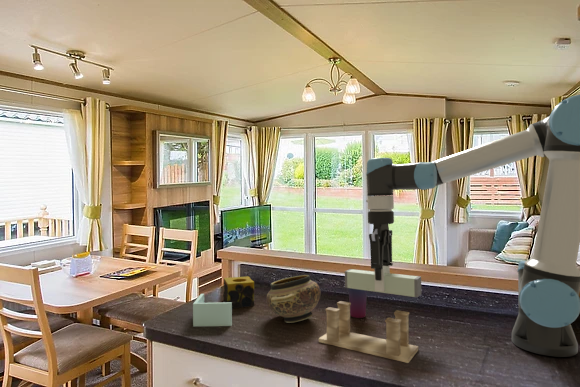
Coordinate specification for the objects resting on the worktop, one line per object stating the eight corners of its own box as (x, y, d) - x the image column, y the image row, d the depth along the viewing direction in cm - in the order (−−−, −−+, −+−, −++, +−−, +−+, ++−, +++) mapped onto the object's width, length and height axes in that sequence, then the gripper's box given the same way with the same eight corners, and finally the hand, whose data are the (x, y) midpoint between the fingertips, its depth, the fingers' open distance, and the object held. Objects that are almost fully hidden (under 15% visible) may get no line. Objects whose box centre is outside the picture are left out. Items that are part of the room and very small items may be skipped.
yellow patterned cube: (223, 304, 145) (222, 277, 145) (249, 301, 148) (249, 275, 148) (226, 312, 135) (226, 283, 135) (254, 309, 138) (254, 281, 138)
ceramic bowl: (303, 338, 110) (302, 286, 110) (250, 329, 118) (250, 280, 118) (332, 313, 132) (331, 270, 132) (286, 307, 140) (285, 266, 140)
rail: (421, 294, 109) (421, 276, 109) (417, 297, 106) (417, 279, 106) (350, 284, 122) (350, 269, 121) (344, 287, 118) (344, 271, 118)
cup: (368, 320, 125) (367, 274, 125) (347, 319, 126) (346, 273, 126) (368, 313, 131) (367, 270, 131) (348, 312, 133) (347, 269, 133)
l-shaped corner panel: (231, 326, 121) (231, 303, 121) (193, 327, 120) (193, 303, 120) (236, 314, 133) (235, 293, 133) (201, 315, 132) (201, 293, 132)
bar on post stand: (418, 350, 101) (418, 313, 101) (408, 363, 94) (407, 323, 93) (333, 331, 115) (333, 299, 115) (318, 342, 107) (318, 307, 107)
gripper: (378, 209, 123) (380, 282, 123) (357, 211, 109) (359, 294, 109) (402, 209, 119) (404, 284, 119) (382, 211, 104) (384, 297, 104)
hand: (382, 289), depth 114 cm, fingers closed on rail, 4 cm apart
